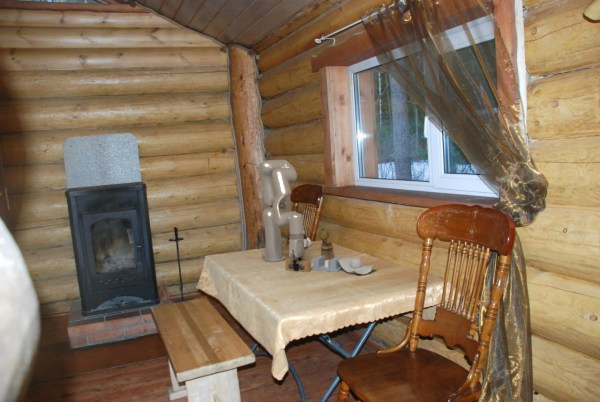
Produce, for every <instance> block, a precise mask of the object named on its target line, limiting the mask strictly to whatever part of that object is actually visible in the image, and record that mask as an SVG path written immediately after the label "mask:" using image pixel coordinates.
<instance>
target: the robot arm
mask: <svg viewBox="0 0 600 402" xmlns="http://www.w3.org/2000/svg"><path fill="white" fill-rule="evenodd" d="M258 175H259V178H260V181H261V184H262V185H261V187H262V197H263V203H264V204H265V205H266V206H272V207H268V208H265V209H263V211H262V214H261V215H262V220H263V226H264V237H265V238H264V239H265V251H262V252H261V256H262V257H263V256H264V257H263V261H265V262H269V263H274V262H275V263H277V262H282V261H285V259H286V257H285V256H284V255H283V248H282V232H281V231H282V230H281V228H280V227H289V230H288V231H289V243H288V252H289V253H288V257H289V258H290V260H291V261H293V268H294V270H296V271H295V272H300V271H299V263H298V261H304V256H305V252H306V251H305V249H306V248H304V240H303V239H304V234H303V231H304V216H303V214H302V213H298V212H297V211H292V206H291V195H292V190H291V186H290V183H293V182H295V181H296V180H297V179H298V174H297V171H296V169H295V167H294V166H293V165H292V164H291V163H290V162H289V161H288V160H286V159H269V160H263V161H261V162H260V163H259V165H258Z"/></svg>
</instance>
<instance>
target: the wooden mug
mask: <svg viewBox="0 0 600 402" xmlns="http://www.w3.org/2000/svg"><path fill="white" fill-rule="evenodd" d="M318 237H319V239H320V240H322V242H321V245H320V256H325V261H326V260H331V259H333V258H335V254H334V253H335V252H334V246H333V243H332V242H330V241H329V242H328V238H329V237H330V234H329V232H328V230H326V229H325V228H322V229H321V230H320V231H319V232H318Z"/></svg>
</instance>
